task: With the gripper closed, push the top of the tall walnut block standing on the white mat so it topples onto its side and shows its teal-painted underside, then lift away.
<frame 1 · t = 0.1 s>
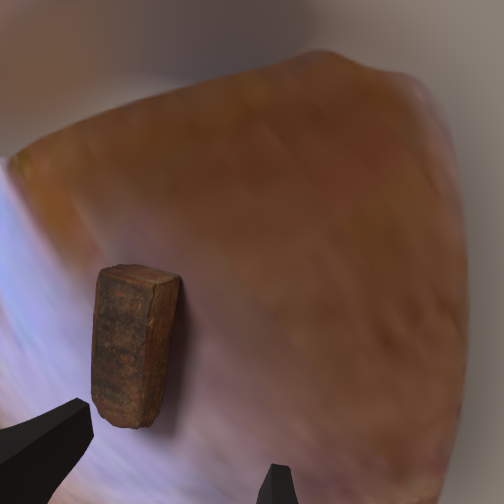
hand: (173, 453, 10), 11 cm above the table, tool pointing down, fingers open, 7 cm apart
brick: (147, 339, 21), on the table
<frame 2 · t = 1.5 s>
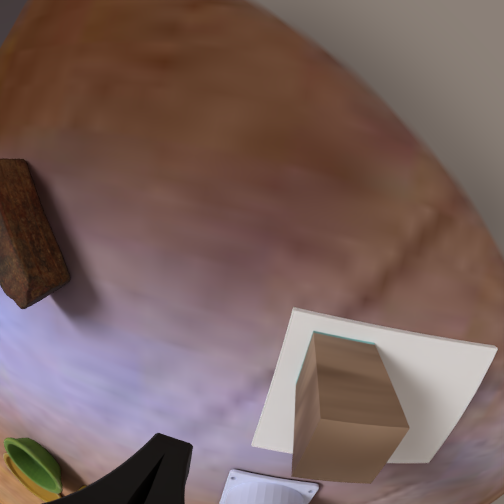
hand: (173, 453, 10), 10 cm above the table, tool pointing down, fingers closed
walnut block: (334, 364, 19), resting on white mat
white mat: (378, 403, 20), on the table
brick: (36, 226, 21), on the table
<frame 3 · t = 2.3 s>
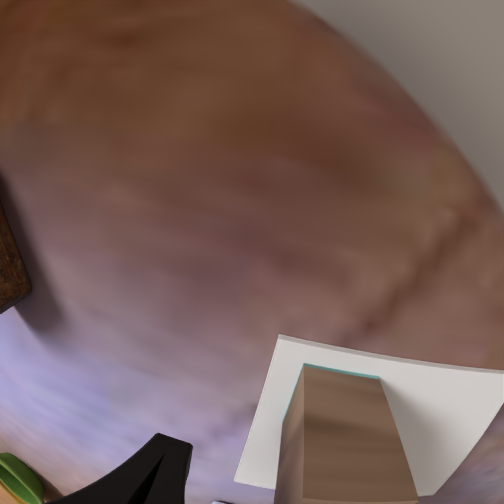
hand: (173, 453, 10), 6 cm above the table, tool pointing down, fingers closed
walnut block: (329, 400, 15), resting on white mat
white mat: (380, 440, 16), on the table
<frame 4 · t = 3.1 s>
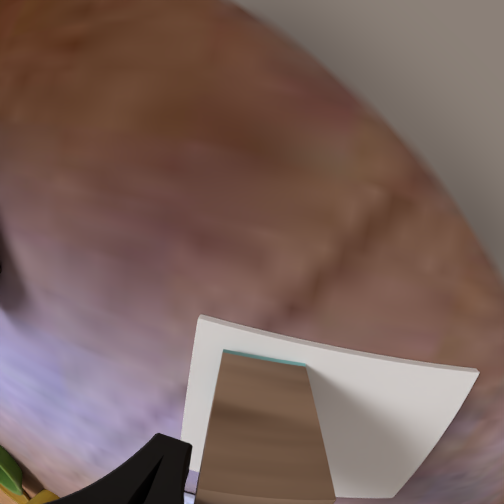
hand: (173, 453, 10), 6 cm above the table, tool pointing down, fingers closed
walnut block: (255, 388, 15), point 1 cm above the table, tilted 7°, touching white mat, gripper
white mat: (320, 434, 16), on the table
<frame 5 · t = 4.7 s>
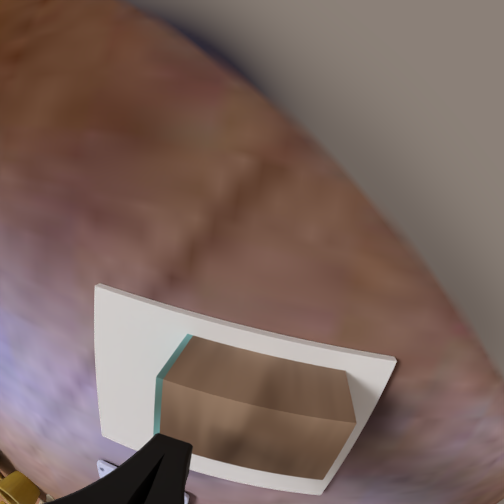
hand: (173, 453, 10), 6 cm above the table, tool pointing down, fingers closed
tableware set: (19, 496, 30), on the table
walnut block: (169, 386, 14), point 2 cm above the table, tilted 90°, touching white mat
white mat: (222, 413, 17), on the table
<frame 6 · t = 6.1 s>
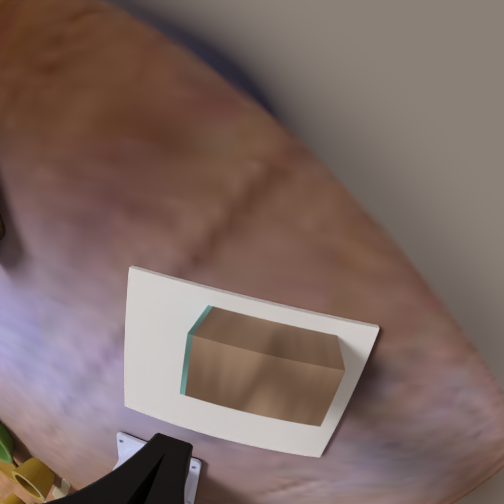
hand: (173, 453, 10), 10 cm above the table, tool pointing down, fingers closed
tableware set: (32, 486, 34), on the table
walnut block: (194, 348, 18), point 2 cm above the table, tilted 90°, touching white mat
white mat: (234, 376, 20), on the table
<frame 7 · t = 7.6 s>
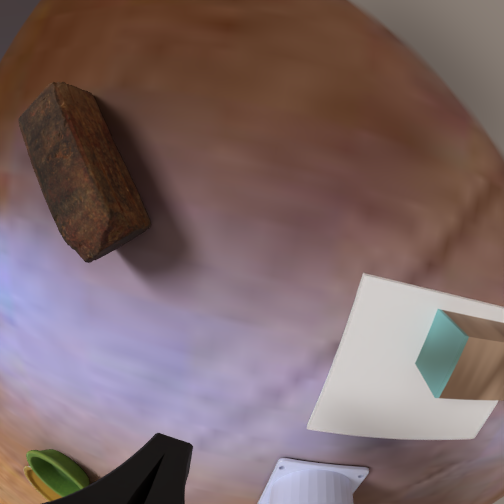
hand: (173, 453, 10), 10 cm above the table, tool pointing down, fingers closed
walnut block: (437, 351, 16), point 2 cm above the table, tilted 90°, touching white mat
white mat: (435, 375, 19), on the table
brick: (102, 169, 19), on the table
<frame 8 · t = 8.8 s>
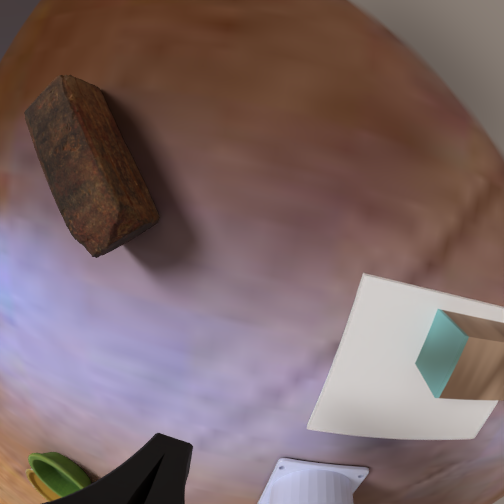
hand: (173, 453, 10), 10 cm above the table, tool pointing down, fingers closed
walnut block: (437, 351, 16), point 2 cm above the table, tilted 90°, touching white mat
white mat: (435, 375, 19), on the table
brick: (109, 163, 19), on the table
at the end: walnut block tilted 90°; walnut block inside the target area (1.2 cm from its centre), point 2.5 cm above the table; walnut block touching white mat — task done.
